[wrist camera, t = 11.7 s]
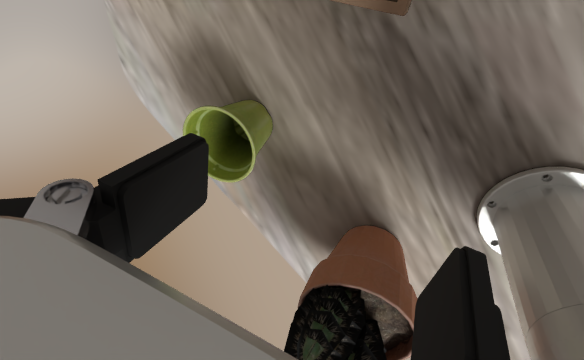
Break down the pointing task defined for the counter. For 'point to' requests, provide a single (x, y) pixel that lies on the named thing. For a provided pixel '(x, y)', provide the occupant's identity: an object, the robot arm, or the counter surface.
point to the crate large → (382, 5)
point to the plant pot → (231, 136)
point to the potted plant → (356, 302)
